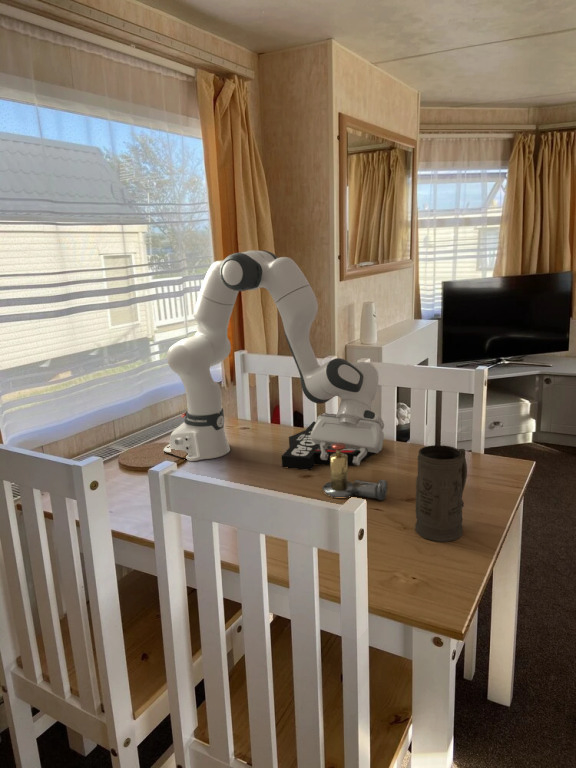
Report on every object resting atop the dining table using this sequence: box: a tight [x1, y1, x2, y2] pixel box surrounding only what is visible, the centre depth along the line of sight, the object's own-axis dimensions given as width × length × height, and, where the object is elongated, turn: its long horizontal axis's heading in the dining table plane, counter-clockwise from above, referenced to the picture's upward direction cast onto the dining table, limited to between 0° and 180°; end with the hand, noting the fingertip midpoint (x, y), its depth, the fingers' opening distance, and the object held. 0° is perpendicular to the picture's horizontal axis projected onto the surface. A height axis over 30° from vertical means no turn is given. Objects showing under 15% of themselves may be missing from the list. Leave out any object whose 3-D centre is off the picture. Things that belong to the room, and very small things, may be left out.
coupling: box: [322, 479, 388, 501], centre depth 154 cm, size 17×9×5 cm, turn 61°
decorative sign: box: [281, 421, 377, 471], centre depth 186 cm, size 34×4×30 cm
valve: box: [329, 443, 349, 491], centre depth 155 cm, size 5×5×12 cm
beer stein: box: [414, 444, 468, 543], centre depth 133 cm, size 15×11×20 cm
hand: (339, 461), depth 155 cm, fingers open, 8 cm apart
